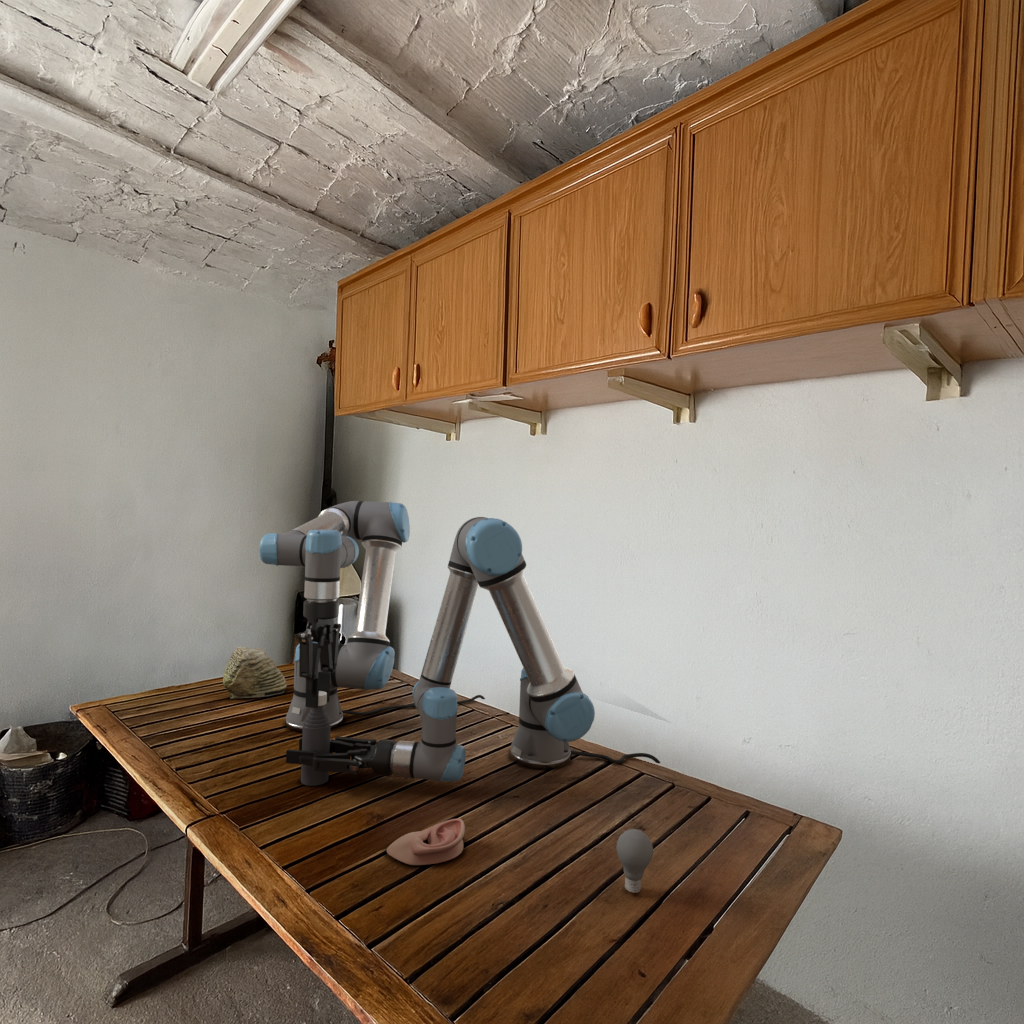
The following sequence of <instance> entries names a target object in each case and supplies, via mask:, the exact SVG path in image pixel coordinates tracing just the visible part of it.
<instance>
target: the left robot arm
mask: <svg viewBox="0 0 1024 1024" xmlns="http://www.w3.org/2000/svg"><path fill="white" fill-rule="evenodd" d="M410 527H411V526H410V517H409V512H408V509H407V507H406V506H405V504H403V503H401V502H393V501H371V500H370V501H369V500H367V501H366V500H351V501H346V502H345V501H344V502H342V503H341V502H340V503H338V504H335V505H333V506H329V507H327V508H325V509H323V510H322V511H320V513H319V514H318V516H317V517H315V518H314V519H311V520H308V521H307V522H304V523H303V524H301V525H299V526H297V527H295V528H293V529H291V530H289V531H287V532H285V533H278V532H275V533H272V532H271V533H266V534H264V535H263V536H262V537H261V539H260V542H259V546H258V547H259V549H258V551H259V553H258V554H259V558H260V560H261V562H262V563H264V564H265V565H273V566H276V567H278V566H285V567H286V566H288V567H304V592H303V597H304V598H305V600H304V601H303V608H302V609H303V612H302V614H303V615H302V616H303V617H304V618H306V620H307V623H306V627H305V631H303V632H299V633H298V634H297V639H298V644H297V645H296V647H295V654H294V659H293V661H294V670H293V671H294V672H293V695H292V696H293V697H292V699H291V702H290V704H289V708H288V711H287V713H286V715H285V726H286V728H287V729H289V730H291V731H294V732H295V731H296V732H301V733H303V724H304V720H305V719H306V717H307V716H308V713H310V710H311V708H318V697H319V691H324V692H326V693H327V703H326V704H325V705H324V709H325V712H326V713H327V715H328V718H329V719H330V723H331V727H330V730H332V729H335V728H337V727H339V726H340V725H342V723H343V722H344V714H346V715H354V716H369V715H372V714H373V715H374V714H376V713H379V712H382V711H387V710H395V709H406V708H416V706H415V704H414V703H409V704H399V705H398V704H397V705H389V706H383V707H380V708H375V709H373V710H369V711H363V712H361V711H354V710H344V709H342V706H341V702H340V699H339V695H338V688H340V689H341V688H342V689H355V690H356V689H357V690H365V691H370V690H382V689H383V688H384V687H385V686H386V685H387V684H388V682H389V680H390V678H391V675H392V673H393V670H394V664H395V649H394V648H393V647H392V646H390V645H391V644H390V642H391V641H390V639H389V638H388V637H387V635H386V632H387V631H386V630H387V624H388V615H389V607H390V600H391V593H392V584H393V577H394V571H395V570H394V569H395V560H396V554H397V553H398V552H400V551H401V550H402V547H403V543H404V544H405V543H407V542H408V541H409V540H410V532H411V531H410V529H411V528H410ZM356 540H357V541H361V546H362V547H363V548H364V549H365V556H364V562H363V568H362V569H363V570H362V577H361V584H360V590H359V597H358V604H357V611H356V618H355V625H354V631H353V632H352V633H351V634H350V635H349V636H348V637H347V642H346V644H341V641H340V632H341V628H342V624H341V623H336V622H335V619H336V618H338V617H339V613H340V612H339V611H340V610H339V609H340V601H339V600H338V599H339V598H340V592H341V591H340V589H341V588H340V587H341V585H340V584H341V580H340V579H341V569H345V568H347V567H350V566H351V565H353V564H354V563H355V562H356V561H357V559H358V557H359V554H360V547H359V544H358V543H357V541H356ZM477 699H481V700H486V698H485V697H484V696H483V695H482V694H477V695H475V696H473V697H470V698H469V699H463V700H457V705H461V704H462V705H463V704H468V703H471V702H474V701H475V700H477Z"/></svg>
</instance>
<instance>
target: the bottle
mask: <svg viewBox="0 0 1024 1024" xmlns="http://www.w3.org/2000/svg"><path fill="white" fill-rule="evenodd" d="M330 727H331V723H330V719H329V718H328V715H327V713H326V712H325V709H324V705H322V706H318V708H311V710H310V713H308V716H307V717H306V719H305V720H304V724H303V732H302V737H301V738H302V751H314V752H315V751H317V754H328V753H330V739H331V729H330ZM300 766H301V767H300V768H301V770H300V783H301V784H302V785H304V786H309V787H315V786H321V785H324V784H326V783H327V782H328V781H329V774H330V772H324V771H314V770H313V768H314V765H304V764H300Z"/></svg>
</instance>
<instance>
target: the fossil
mask: <svg viewBox="0 0 1024 1024" xmlns="http://www.w3.org/2000/svg"><path fill="white" fill-rule="evenodd" d="M222 676H223V677H222V685H223V687H224V688H225V690H226V691H228V693H229V698H230V699H250V698H264V697H271V696H275V695H281V694H284V693H285V691H286V689H287V687H288V686H287V680H286V678H285V676H284V674H283V673H282V672H281V669H279V668H278V667H277V665H276V663H275V662H274V660H273V659H272V658H271V657H270V656H269V655H268V654H267V653H266V652H265V650H264V649H263V648H260V647H258V648H251V647H247V646H246V647H245V646H238V647H237V648H236V649H235V650H233V651H232V653H231V656H230V657H229V659H228V660H227V663H226V666H225V668H224V671H223V675H222Z"/></svg>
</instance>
